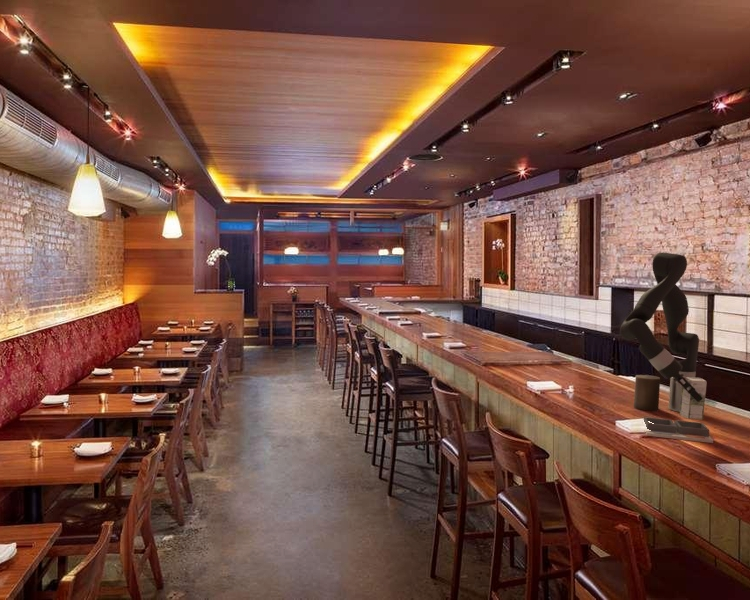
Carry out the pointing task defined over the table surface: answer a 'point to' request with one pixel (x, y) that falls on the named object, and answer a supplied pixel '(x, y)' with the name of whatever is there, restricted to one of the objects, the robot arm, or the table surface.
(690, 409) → the syrup box
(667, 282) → the robot arm
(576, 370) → the table surface
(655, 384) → the pillar candle
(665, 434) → the socket board
